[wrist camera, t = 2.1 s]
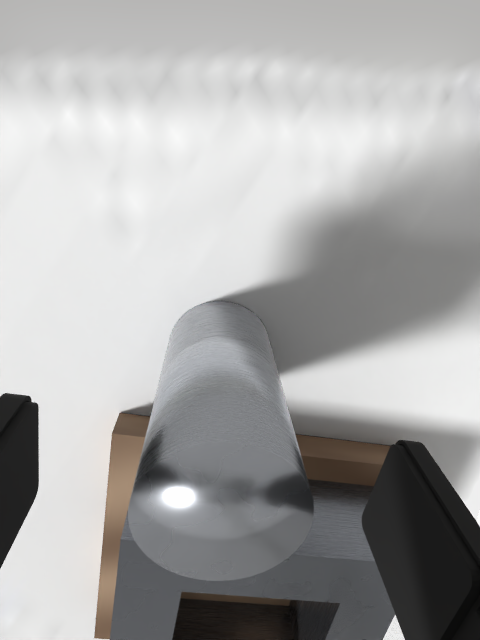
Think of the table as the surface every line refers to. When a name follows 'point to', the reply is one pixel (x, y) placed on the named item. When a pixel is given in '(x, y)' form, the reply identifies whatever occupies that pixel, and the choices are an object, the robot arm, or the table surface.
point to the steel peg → (220, 454)
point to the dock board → (126, 447)
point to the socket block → (266, 587)
